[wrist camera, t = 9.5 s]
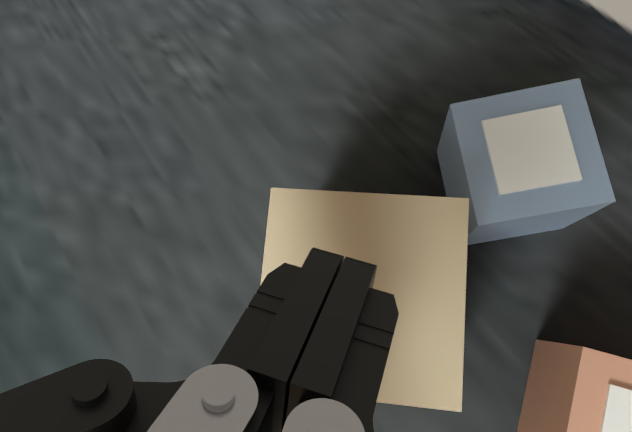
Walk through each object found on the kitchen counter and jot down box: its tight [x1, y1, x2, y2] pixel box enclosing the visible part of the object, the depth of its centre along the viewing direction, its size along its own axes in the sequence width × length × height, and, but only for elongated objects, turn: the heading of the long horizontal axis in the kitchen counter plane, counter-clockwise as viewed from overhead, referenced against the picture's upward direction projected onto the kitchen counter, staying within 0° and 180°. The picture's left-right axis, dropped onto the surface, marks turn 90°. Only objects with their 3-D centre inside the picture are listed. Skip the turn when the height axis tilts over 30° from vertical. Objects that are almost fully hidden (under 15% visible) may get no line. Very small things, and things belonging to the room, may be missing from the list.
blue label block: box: [437, 78, 616, 245], centre depth 22 cm, size 5×5×6 cm
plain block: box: [261, 188, 469, 412], centre depth 21 cm, size 7×7×8 cm
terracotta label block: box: [517, 339, 632, 432], centre depth 20 cm, size 5×5×6 cm
